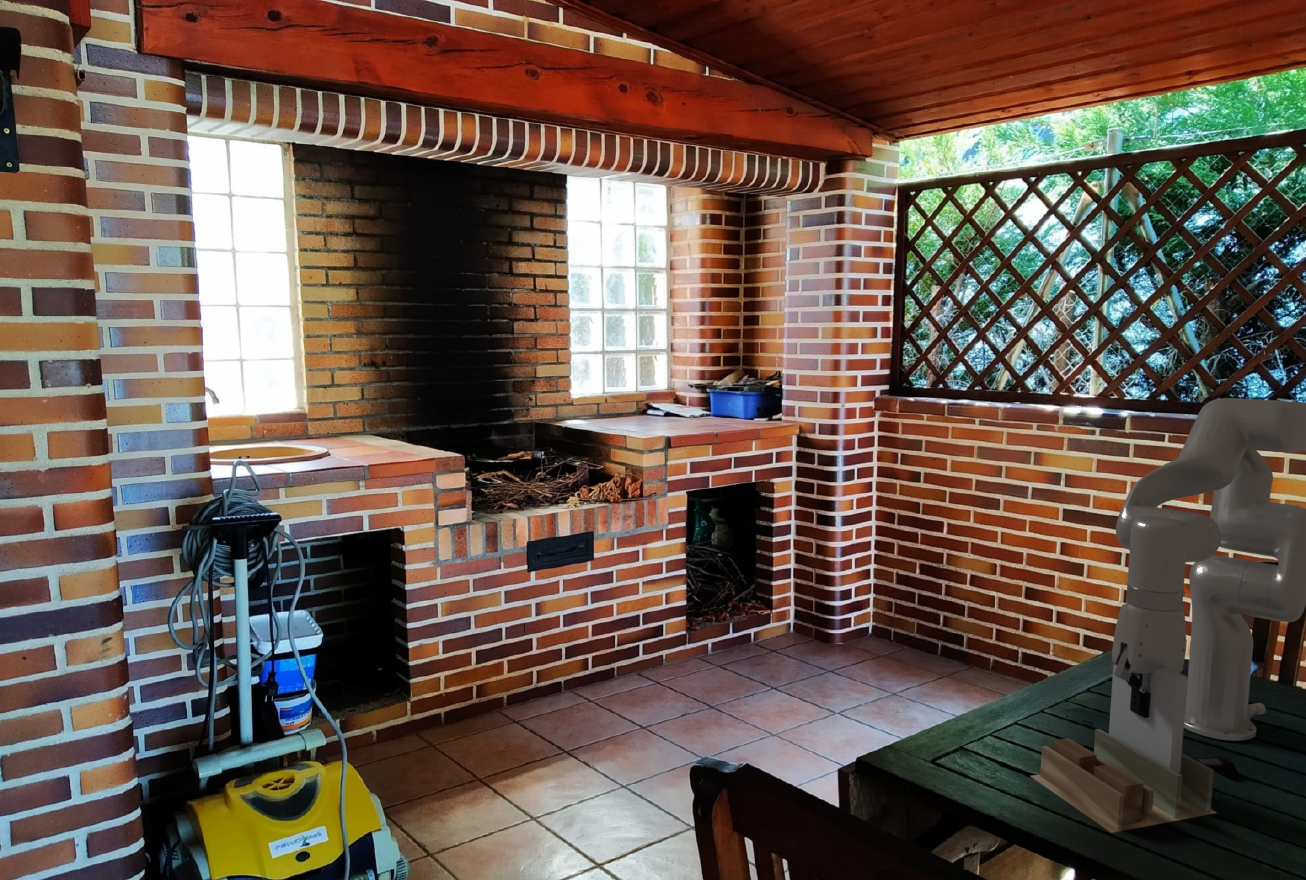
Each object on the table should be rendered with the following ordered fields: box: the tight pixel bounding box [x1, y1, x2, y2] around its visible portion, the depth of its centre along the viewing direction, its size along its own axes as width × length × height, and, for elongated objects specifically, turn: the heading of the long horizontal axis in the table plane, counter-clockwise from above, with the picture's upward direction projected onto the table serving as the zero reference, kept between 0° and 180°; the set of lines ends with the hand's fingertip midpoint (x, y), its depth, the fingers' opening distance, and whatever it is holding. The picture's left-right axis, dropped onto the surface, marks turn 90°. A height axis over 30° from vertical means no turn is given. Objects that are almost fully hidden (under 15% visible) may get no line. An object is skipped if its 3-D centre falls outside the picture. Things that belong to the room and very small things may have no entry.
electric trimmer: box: [1191, 755, 1240, 779], centre depth 148 cm, size 4×16×3 cm, turn 90°
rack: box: [1030, 728, 1218, 834], centre depth 138 cm, size 19×17×8 cm
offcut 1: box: [1051, 737, 1097, 776], centre depth 141 cm, size 3×6×6 cm, turn 16°
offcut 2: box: [1094, 764, 1144, 826], centre depth 133 cm, size 3×6×6 cm, turn 16°
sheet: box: [1108, 664, 1188, 773], centre depth 140 cm, size 2×12×15 cm, turn 16°
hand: (1145, 712), depth 140 cm, fingers closed on sheet, 1 cm apart
